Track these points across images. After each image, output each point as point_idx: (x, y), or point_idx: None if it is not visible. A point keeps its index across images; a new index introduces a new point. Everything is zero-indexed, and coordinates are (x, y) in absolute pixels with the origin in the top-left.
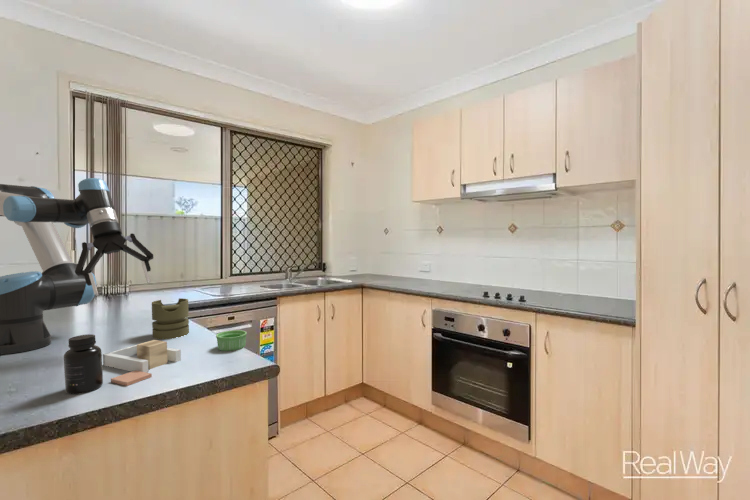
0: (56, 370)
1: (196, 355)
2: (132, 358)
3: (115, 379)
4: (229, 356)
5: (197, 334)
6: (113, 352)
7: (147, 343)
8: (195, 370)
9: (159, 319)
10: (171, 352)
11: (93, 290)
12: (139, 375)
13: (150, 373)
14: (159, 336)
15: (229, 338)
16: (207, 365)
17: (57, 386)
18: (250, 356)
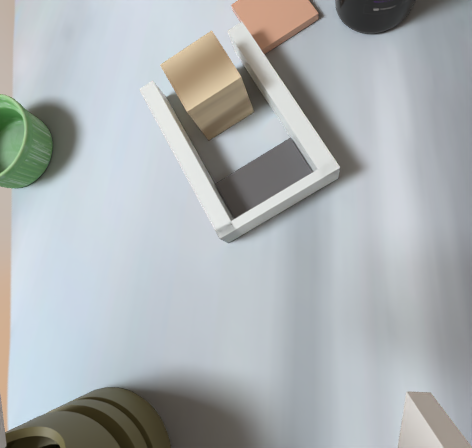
0: (468, 208)
1: (112, 128)
2: (262, 69)
3: (308, 2)
4: (54, 73)
5: (42, 385)
6: (309, 174)
7: (211, 75)
8: (144, 9)
9: (112, 443)
10: (163, 97)
11: (448, 416)
12: (256, 5)
13: (233, 6)
14: (151, 416)
15: (9, 97)
16: (114, 31)
17: (440, 50)
18: (21, 48)
